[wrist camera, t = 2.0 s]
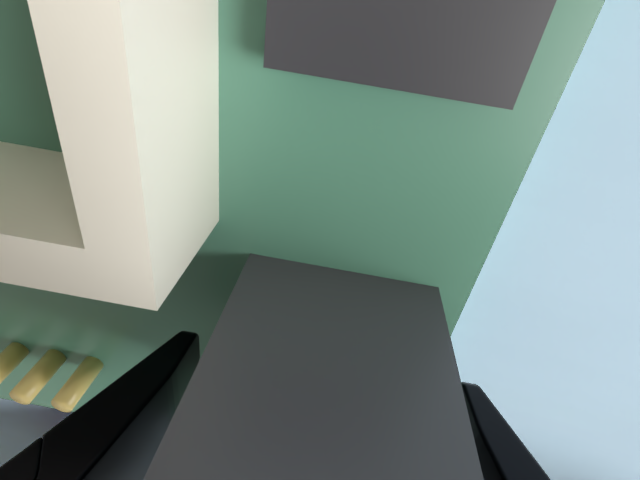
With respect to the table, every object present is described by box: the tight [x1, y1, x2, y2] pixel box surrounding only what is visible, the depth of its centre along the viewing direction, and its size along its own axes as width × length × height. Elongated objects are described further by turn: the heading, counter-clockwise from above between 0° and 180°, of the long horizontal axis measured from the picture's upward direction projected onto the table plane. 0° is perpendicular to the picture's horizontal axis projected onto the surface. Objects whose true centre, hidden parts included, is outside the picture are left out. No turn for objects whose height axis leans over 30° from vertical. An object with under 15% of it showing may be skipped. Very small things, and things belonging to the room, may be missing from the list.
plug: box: [143, 253, 484, 480], centre depth 8 cm, size 4×4×7 cm
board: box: [0, 0, 605, 412], centre depth 9 cm, size 15×18×2 cm
